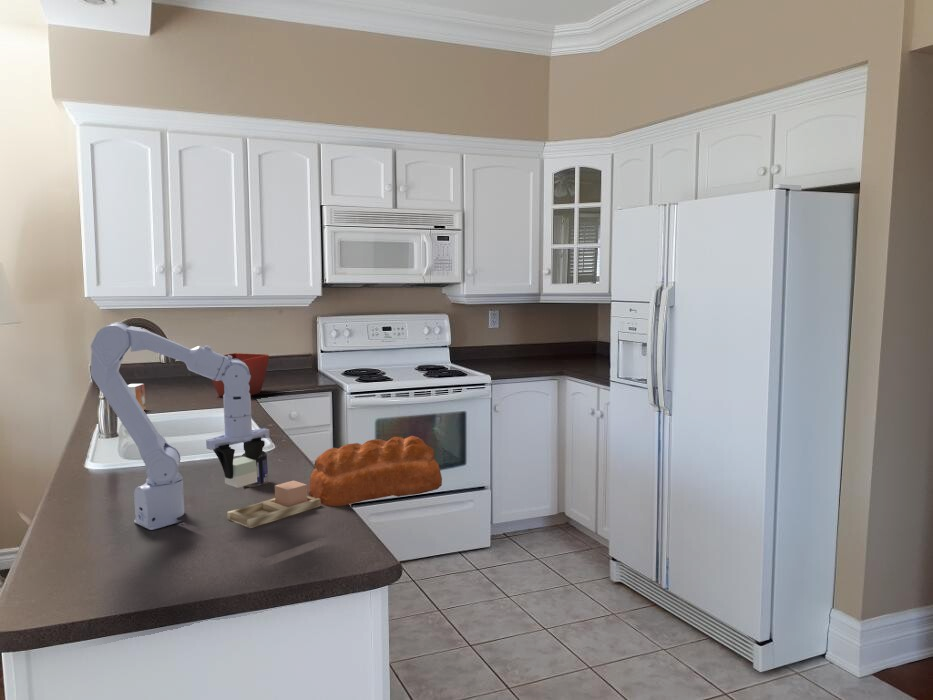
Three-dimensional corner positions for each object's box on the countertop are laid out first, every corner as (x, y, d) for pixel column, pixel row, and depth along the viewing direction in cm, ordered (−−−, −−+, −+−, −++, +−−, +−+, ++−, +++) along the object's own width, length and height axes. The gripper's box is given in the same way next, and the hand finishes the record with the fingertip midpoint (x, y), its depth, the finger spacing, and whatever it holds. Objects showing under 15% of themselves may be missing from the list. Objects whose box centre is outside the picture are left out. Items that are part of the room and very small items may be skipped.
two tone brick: (237, 487, 159) (235, 465, 158) (225, 483, 162) (223, 461, 161) (257, 481, 162) (255, 460, 162) (244, 477, 166) (243, 456, 165)
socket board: (250, 533, 149) (250, 521, 149) (227, 523, 155) (226, 511, 155) (321, 510, 163) (321, 499, 162) (297, 502, 169) (296, 491, 168)
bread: (448, 489, 178) (447, 437, 176) (327, 514, 161) (325, 457, 159) (417, 475, 191) (416, 426, 189) (302, 496, 174) (300, 443, 172)
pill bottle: (259, 481, 186) (257, 439, 184) (273, 485, 182) (271, 442, 180) (238, 487, 181) (235, 444, 180) (252, 492, 177) (249, 447, 176)
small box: (136, 414, 275) (135, 386, 274) (122, 414, 275) (120, 386, 274) (146, 410, 283) (144, 383, 282) (132, 410, 283) (130, 383, 282)
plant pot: (243, 400, 302) (241, 359, 300) (206, 397, 309) (204, 358, 307) (271, 392, 320) (269, 354, 318) (235, 390, 326) (234, 353, 324)
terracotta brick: (288, 512, 158) (288, 489, 158) (275, 507, 162) (274, 485, 161) (307, 506, 162) (306, 484, 162) (294, 501, 165) (293, 480, 165)
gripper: (217, 422, 152) (220, 485, 154) (276, 412, 163) (278, 471, 165) (199, 418, 157) (203, 479, 158) (258, 408, 168) (260, 465, 169)
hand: (240, 475), depth 162 cm, fingers closed on two tone brick, 5 cm apart
